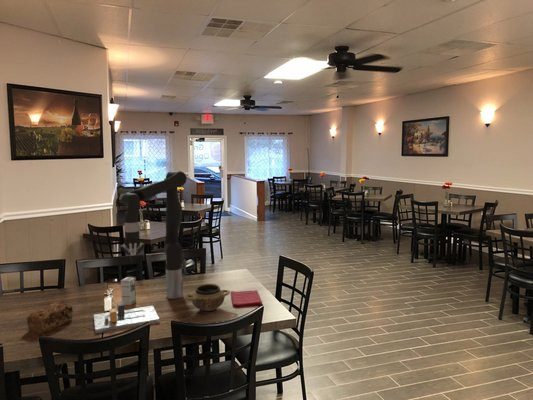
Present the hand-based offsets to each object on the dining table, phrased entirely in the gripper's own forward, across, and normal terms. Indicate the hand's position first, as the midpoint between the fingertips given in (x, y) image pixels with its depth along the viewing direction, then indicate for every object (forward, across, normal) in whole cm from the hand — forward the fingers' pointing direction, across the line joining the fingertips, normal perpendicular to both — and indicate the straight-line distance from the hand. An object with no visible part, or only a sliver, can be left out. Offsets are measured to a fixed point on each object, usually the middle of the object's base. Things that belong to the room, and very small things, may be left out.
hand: (133, 261), depth 221 cm
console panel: (+27, +6, +13) cm, 31 cm away
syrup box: (+27, +2, -12) cm, 30 cm away
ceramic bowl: (+27, -36, +18) cm, 49 cm away
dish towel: (+28, -61, +11) cm, 68 cm away
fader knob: (+25, +12, +16) cm, 32 cm away
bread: (+27, +41, +3) cm, 49 cm away
